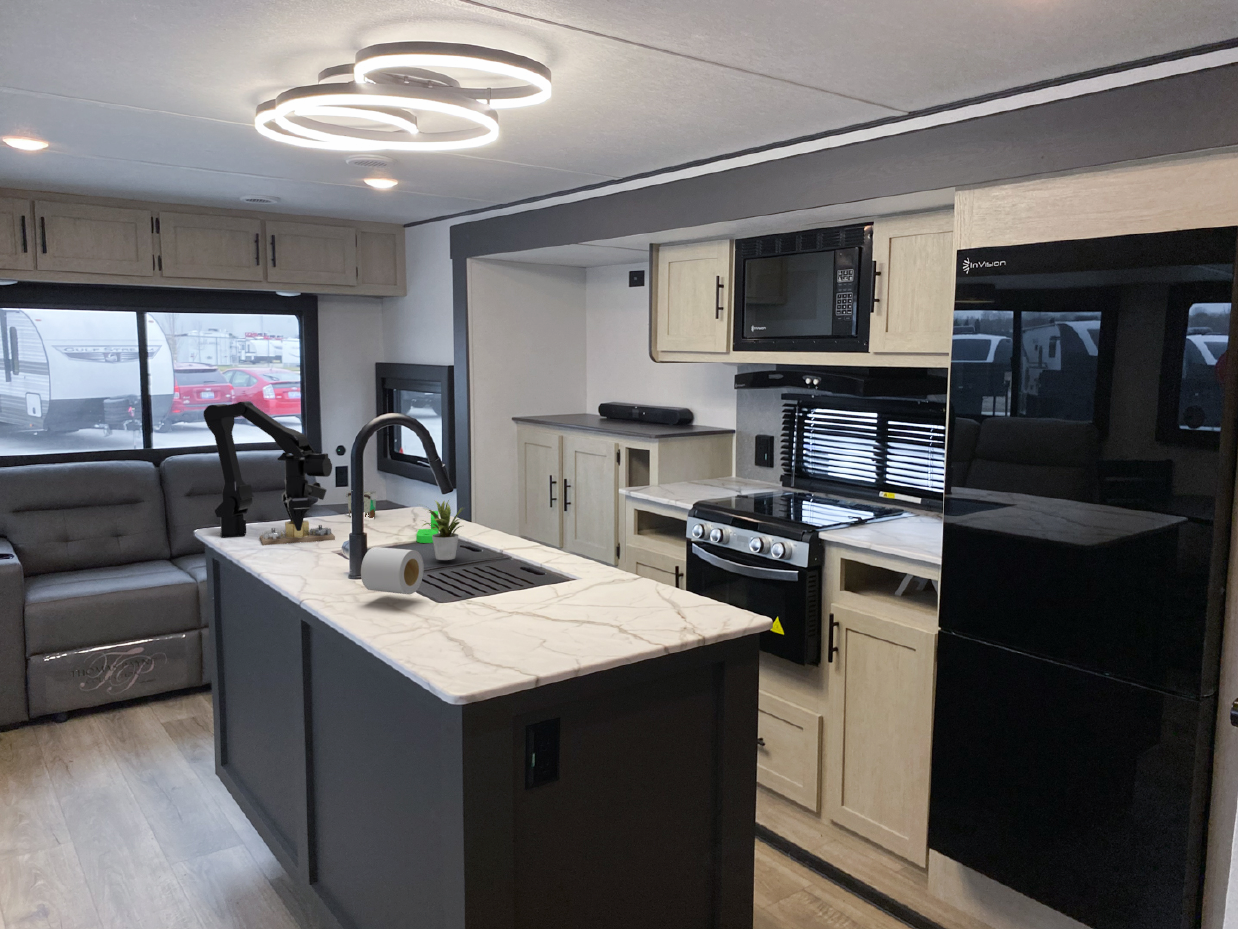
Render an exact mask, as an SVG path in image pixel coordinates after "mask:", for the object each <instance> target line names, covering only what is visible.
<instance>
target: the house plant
mask: <svg viewBox="0 0 1238 929" xmlns="http://www.w3.org/2000/svg"><path fill="white" fill-rule="evenodd" d="M434 501H435V503H436V506H437V511H438V514H439V517H438V515H437V514H436V513H435V512H433V511H434V510H431V509H429V508H422V509H424V510H425V511H426V510H427V511H428V512H429V514H430V515H431V514H432V515H433V516H434V518H435V519H433V520H435V521H436V522H437V523H438V525H439V526H438V525H436V524H433V525H435V526H436V527H432V526H431V524H432V523H431V522H427V521H426V520H422V519H421V521H422V522H425V523H423V524H422V525H421V527H423V526H426V525H428V526H430V528H431V527H432V528H433V529H435V528H437V529H438V530H439V533H438V534H434V535H432V539H433V543H432V544H433V551H434V555H435V559H436V560H440V561H448V560H454V559H456V557H457V556H456V554H457V548H458V542H459V536H460V535H459V534H458V533H455V532H456V531H457V530H458V529H460V528H462V527H463V525H459V524H460V523H461V521H459V520H461V518H458V516H459V514H460V513H461V512H462V511H463V510H464V508H460V509H459V510H458V512H456V514H455V516H454V517H453V518H452V521H451V510H452V509H451V506H450V502H449V501H450V498H449V499H448V501H445V500H443V502H442V503H441V504H440V503H439V502H438V501H437V500H434ZM419 505H420V504H418V503H417V506H419ZM422 506H424V507H425V505H424V504H422ZM457 518H458V519H457ZM462 520H463V521H464V520H465V519H464V518H462ZM450 522H451V523H450ZM458 525H459V526H458Z"/></svg>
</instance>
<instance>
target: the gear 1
mask: <svg viewBox="0 0 1238 929" xmlns="http://www.w3.org/2000/svg"><path fill="white" fill-rule="evenodd" d="M261 535H262V538H265V539H278V538H283V537H285V531H282V530H276V528H275V527H272V528H271V530H269V531H263V532H262V533H261Z"/></svg>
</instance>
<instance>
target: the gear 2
mask: <svg viewBox="0 0 1238 929" xmlns="http://www.w3.org/2000/svg"><path fill="white" fill-rule="evenodd" d="M309 532H310V535H313V536H324V535H330V534H331V533H332V528H329V527H323V525H322V524H319V525H318V527H317V528H313V527H312V528H311V529H309Z"/></svg>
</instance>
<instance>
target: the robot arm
mask: <svg viewBox="0 0 1238 929" xmlns="http://www.w3.org/2000/svg"><path fill="white" fill-rule="evenodd" d="M239 417H243V418H244V419H245V420H247V421H249V422H250V423H251V424H253V425H254V426H256V427H257V428H259V429H260V430H261V431H263V432H265V434H267V435H269V436H270V437H271V438H272V439H273V440H274V442H275V443H276V445H277V446H278V447H279V448H280V449H281V450H282V451H283V452H282V454H281V455H280V456H279V457H277V461H281V462H283V461H284V476H285V477H284V484H285V491H284V492H282V493H281V502H282V504H283V506H284V508H285V509H284V510H285V511H286V512H287V513H286V514H287V515H288V517H289V519H290V520H289V521H293V523H294V525H295V527H296V530H297V531H301V528H302V523H303V520H304V518H305V514H306V513H307V512H308V511H309V510H311V508H312V500H311V499H310V498H309V496H311V497H314V498H318V499H319V500H321V501H323V500H324V499H325V496H326V493H327V489H326V488H324V487H322V486H321V483H319V482H318V481H314V482H313V483H309V481H308V480H307V478H306V476H308V477H319V478H320V477H322V478H323V477H324V478H327V477H329V476H331V474H332V471H333V463H332V461H331V459H330V458H329V453H316V452H315V450H314V448H313V447H312V446H311V445H310V443H309V441H308V437H307V435H306V434H304V433H302V432H300V431H298V430H296V429H293V428H290V427H287V426H286V425H283V424H281V423H280V422H278V421H277V420H275V419H274V418H272V417H271V416H270V415H268V414H267V413H266V412H264V411H263V410H261V409H260V408H259V407H257V406H255V405H254V404H253V403H252V401H247V400H246V401H238V402H236V403H231V404H226V403H220V404H219V403H218V404H210V405H207V406H206V407H205V409H204V410H203V419H204V421H205V424H206V426H207V428H208V429H209V431H210V432H211V434H213V436H214V440H215V444H216V449H217V454H218V458H219V462H220V463H219V464H220V467H221V472H222V476H223V482H224V484H223V488H222V490H221V491H222V492H221V499H222V502H221V503H220V504H219V505H218V506H217V507H216V509H214V513H215V516H216V518H220V534H219V535H220V538H236V537H238V538H239V537H245V536H246V534H247V520H246V518H244V516H245V515H244V514H247V513H248V510H249V507H251V505H252V504H253V498H254V497H255V495H254V494H253V491H252V485H251V483H248V484H246V483H245V482H244V480H243V478H242V473H241V469H240V465H239V460H238V456H237V451H236V445H235V441H234V438H233V437H234V436H233V429H234V426H235V418H239Z"/></svg>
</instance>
